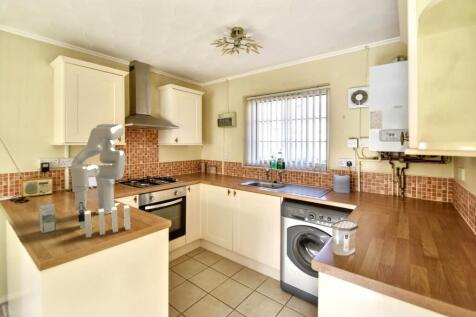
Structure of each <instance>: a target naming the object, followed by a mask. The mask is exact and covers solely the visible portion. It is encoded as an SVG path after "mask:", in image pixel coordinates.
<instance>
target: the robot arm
mask: <svg viewBox="0 0 476 317" xmlns="http://www.w3.org/2000/svg"><path fill="white" fill-rule="evenodd" d="M124 132H125V129H124V126H123V125H122V124H121V123H100V124H98V125H96V126H95V127H93V128H92V129H91V130H90V133H89V136H88V140H87V143H86V145H85V148H84V149H82V150H81V151H79V152H78V153H77V154H76V155H75V156H74V157H73V159H72V163H71V166H70V175H71V187H72V188H71V189H72V192H73V193H74V206H75V208H74V210H75V211H77V210H78V218H77V219H78V223H80V222H83V221H85V211H87V210H86V209H87V204H88V203H87V202H88V200H87V199H88V198H87V197H88V195H87V192H88V191H89V190H90V186H89V178H95V180H96V181H95V182H96V194H97V196H96V197H97V209H96V210H95V214H96V215H99V209H104V215H109V214H112V211H111V207H118V206H119V207H120V205H121V203H120V202H117V203H116V202H115V195H114V184H113V182H112V181H111V180H122V178H124V174H125V167H126V159H127V158H126V153H125V152H124V150H121V149H116V142H115V141H116V140H118V138H120V137H121V138H122V136H123V135H124ZM96 155H99V162H100V163H102V164H103V165H97V164H95V163H93V164H91V163H89V164H88V163H84V162H85V161H86V160H87V159H89V158H92V157H94V156H96ZM111 164H112V165H111ZM79 208H80V209H79Z"/></svg>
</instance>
